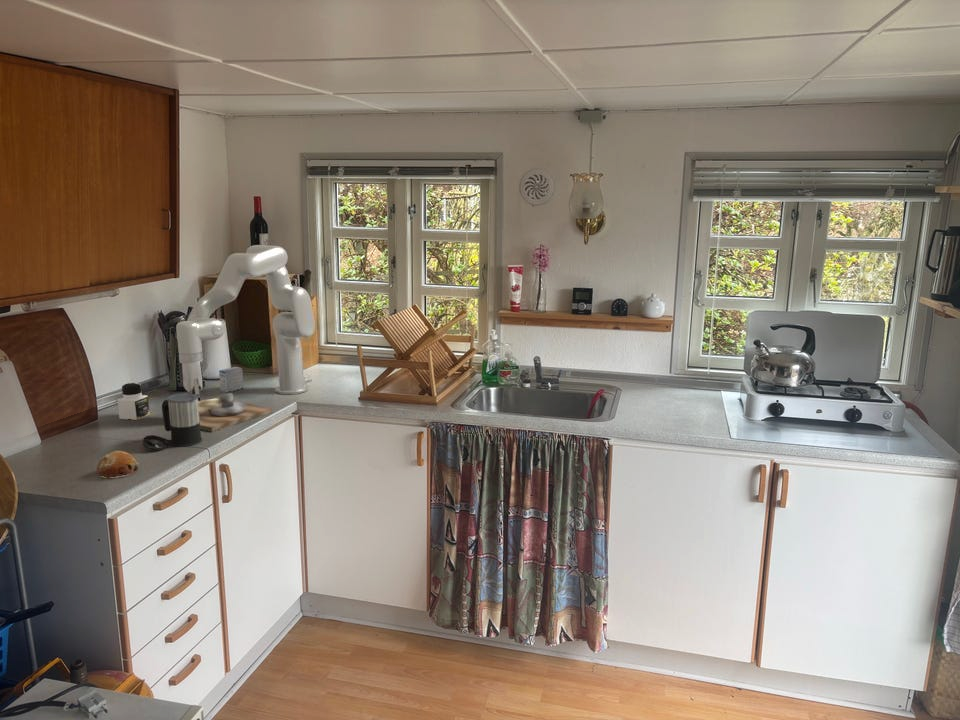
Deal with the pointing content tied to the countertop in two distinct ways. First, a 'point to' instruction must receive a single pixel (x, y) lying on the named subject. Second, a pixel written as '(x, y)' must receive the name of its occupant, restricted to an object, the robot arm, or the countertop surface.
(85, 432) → the countertop surface
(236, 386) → the medicine box
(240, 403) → the grey disc with handle
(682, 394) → the countertop surface
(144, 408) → the medicine bottle
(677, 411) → the countertop surface
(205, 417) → the board
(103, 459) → the bread roll
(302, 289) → the robot arm
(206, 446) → the countertop surface
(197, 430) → the milk frother
